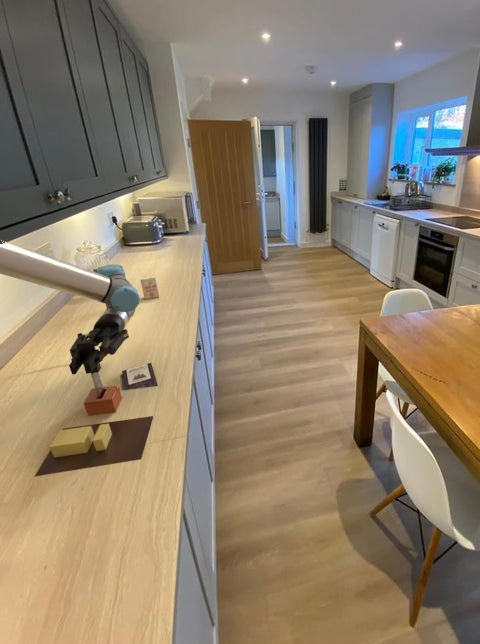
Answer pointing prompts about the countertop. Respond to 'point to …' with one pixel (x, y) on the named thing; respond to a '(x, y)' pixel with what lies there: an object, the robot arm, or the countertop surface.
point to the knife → (86, 351)
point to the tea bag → (150, 288)
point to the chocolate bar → (139, 377)
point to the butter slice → (102, 437)
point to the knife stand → (103, 401)
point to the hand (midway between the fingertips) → (80, 368)
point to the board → (120, 448)
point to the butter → (72, 441)
